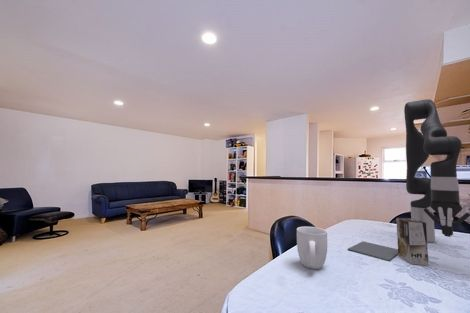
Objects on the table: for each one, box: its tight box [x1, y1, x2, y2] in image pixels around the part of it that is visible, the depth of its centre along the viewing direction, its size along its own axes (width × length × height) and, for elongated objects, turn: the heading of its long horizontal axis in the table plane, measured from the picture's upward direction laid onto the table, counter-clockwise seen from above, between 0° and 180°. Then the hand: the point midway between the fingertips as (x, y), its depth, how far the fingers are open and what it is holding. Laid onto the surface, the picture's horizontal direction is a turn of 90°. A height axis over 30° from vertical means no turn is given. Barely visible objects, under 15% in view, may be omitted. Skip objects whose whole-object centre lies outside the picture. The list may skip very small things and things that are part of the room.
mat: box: [347, 240, 398, 262], centre depth 97 cm, size 18×16×1 cm
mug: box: [296, 226, 328, 270], centre depth 79 cm, size 15×11×13 cm
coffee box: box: [395, 217, 429, 266], centre depth 87 cm, size 9×6×16 cm
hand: (447, 236), depth 79 cm, fingers closed
